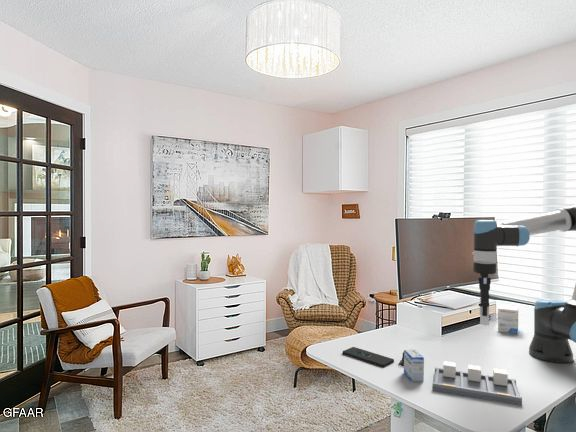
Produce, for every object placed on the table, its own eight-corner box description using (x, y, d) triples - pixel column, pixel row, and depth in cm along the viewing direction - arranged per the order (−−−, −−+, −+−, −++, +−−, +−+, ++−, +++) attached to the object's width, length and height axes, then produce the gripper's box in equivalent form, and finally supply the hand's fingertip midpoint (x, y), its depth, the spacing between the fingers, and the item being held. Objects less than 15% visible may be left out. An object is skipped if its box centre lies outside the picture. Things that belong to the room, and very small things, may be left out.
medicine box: (403, 372, 147) (403, 349, 147) (415, 372, 148) (415, 349, 147) (411, 381, 139) (412, 357, 139) (424, 381, 140) (424, 357, 139)
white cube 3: (455, 373, 142) (455, 362, 142) (455, 378, 139) (455, 366, 139) (443, 371, 144) (443, 361, 144) (443, 376, 140) (443, 365, 140)
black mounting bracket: (413, 371, 150) (413, 359, 150) (393, 367, 153) (393, 355, 153) (419, 360, 161) (419, 348, 160) (401, 356, 164) (401, 345, 164)
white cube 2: (480, 377, 139) (480, 366, 139) (480, 382, 136) (481, 370, 136) (467, 375, 141) (467, 364, 141) (468, 380, 137) (468, 368, 137)
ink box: (518, 329, 199) (518, 306, 199) (517, 334, 192) (518, 310, 191) (499, 327, 203) (499, 304, 203) (497, 331, 196) (497, 307, 196)
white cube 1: (506, 381, 136) (506, 369, 136) (507, 386, 133) (507, 374, 132) (493, 379, 138) (493, 368, 138) (494, 384, 134) (494, 372, 134)
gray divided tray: (515, 385, 136) (515, 378, 136) (522, 405, 123) (522, 398, 123) (435, 373, 147) (435, 366, 147) (432, 390, 133) (432, 383, 133)
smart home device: (353, 346, 171) (394, 358, 157) (353, 350, 171) (394, 363, 157) (341, 351, 166) (383, 364, 151) (341, 355, 166) (383, 369, 151)
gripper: (473, 257, 158) (472, 310, 159) (473, 266, 136) (472, 327, 136) (494, 258, 155) (493, 312, 156) (498, 267, 133) (497, 330, 133)
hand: (484, 319), depth 146 cm, fingers open, 13 cm apart
